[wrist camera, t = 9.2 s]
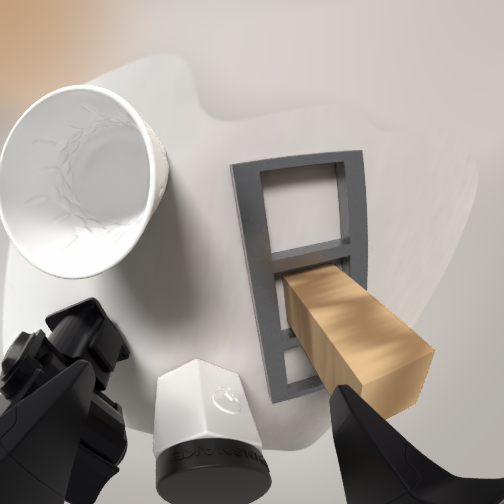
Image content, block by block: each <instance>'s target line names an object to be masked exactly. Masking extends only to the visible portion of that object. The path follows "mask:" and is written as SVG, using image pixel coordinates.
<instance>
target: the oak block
mask: <svg viewBox="0 0 504 504" xmlns="http://www.w3.org/2000/svg"><path fill="white" fill-rule="evenodd" d="M282 278H283V287H284V296H285V306H286V315H287V321H288V322H289V324H290V326H291V328H292V329H293V331H294V333H295V335H296V337H297V338H298V340H299V342H300V344H301V345H302V347H303V349H304V351H305V352H306V354H307V356H308V358H309V359H310V361H311V363H312V365H313V366H314V368H315V370H316V372H317V374H318V375H319V377H320V379H321V381H322V382H323V384H324V386H325V388H326V389H327V391H328V393H329V395H330V396H331V395H332V393H333V391H334V389H335V387H336V386H337V385H342V384H347V385H349V386H350V387H351V388H352V389H353V390H354V391H355V392H356V393H357V394H358V395H359V396H360V397H362V398H363V399H364V400H365V401H366V402H367V403H368V404H369V405H370V406H371V407H372V408H373V409H374V410H375V411H376V412H377V413H378V414H379V415H380V416H381V417H383V418H384V419H385V420H386V419H388V418H390V417H391V416H394V415H396V414H397V413H399V412H401V411H403V410H405V409H407V408H409V407H410V406H412V405H414V404H416V401H417V399H418V397H419V394H420V392H421V389H422V387H423V384H424V381H425V378H426V376H427V373H428V370H429V367H430V364H431V361H432V358H433V355H434V351H435V350H434V349H433V348H432V347H431V346H430V345H429V344H428V343H427V342H425V341H424V340H423V339H422V338H421V337H420V336H418V335H417V334H416V333H415V332H414V331H413V330H412V329H411V328H410V327H408V326H407V325H406V324H405V323H404V322H403V321H401V320H400V319H399V318H398V317H397V316H396V315H394V314H393V313H392V312H391V311H390V310H389V309H387V308H386V307H385V306H384V305H383V304H381V303H380V302H379V301H378V300H377V299H376V298H374V297H373V296H372V295H371V294H370V293H368V292H367V291H366V290H365V289H363V288H362V287H361V286H360V285H359V284H357V283H356V282H355V281H354V280H353V279H351V278H350V277H349V276H348V275H346V274H345V273H344V272H343V271H341V270H340V269H339V268H338V267H336V266H335V265H334V264H333V263H329V264H325V265H320V266H316V267H312V268H308V269H303V270H299V271H295V272H290V273H286V274H282Z"/></svg>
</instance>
